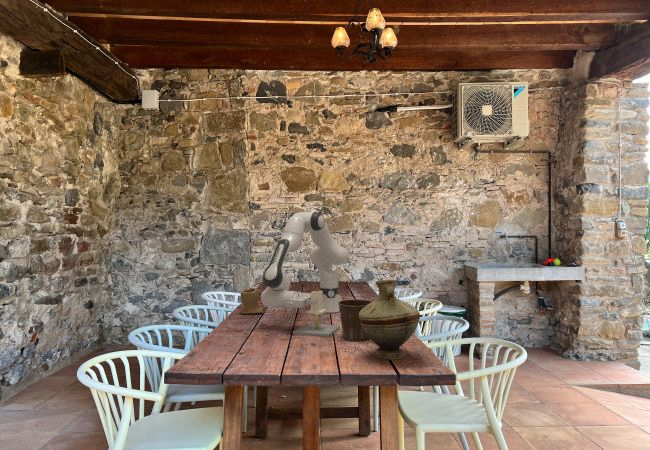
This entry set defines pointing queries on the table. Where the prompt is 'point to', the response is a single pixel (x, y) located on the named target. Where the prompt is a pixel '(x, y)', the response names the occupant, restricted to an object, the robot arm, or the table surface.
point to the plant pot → (352, 319)
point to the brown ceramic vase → (389, 321)
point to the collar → (319, 306)
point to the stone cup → (251, 302)
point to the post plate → (316, 329)
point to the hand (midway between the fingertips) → (318, 301)
